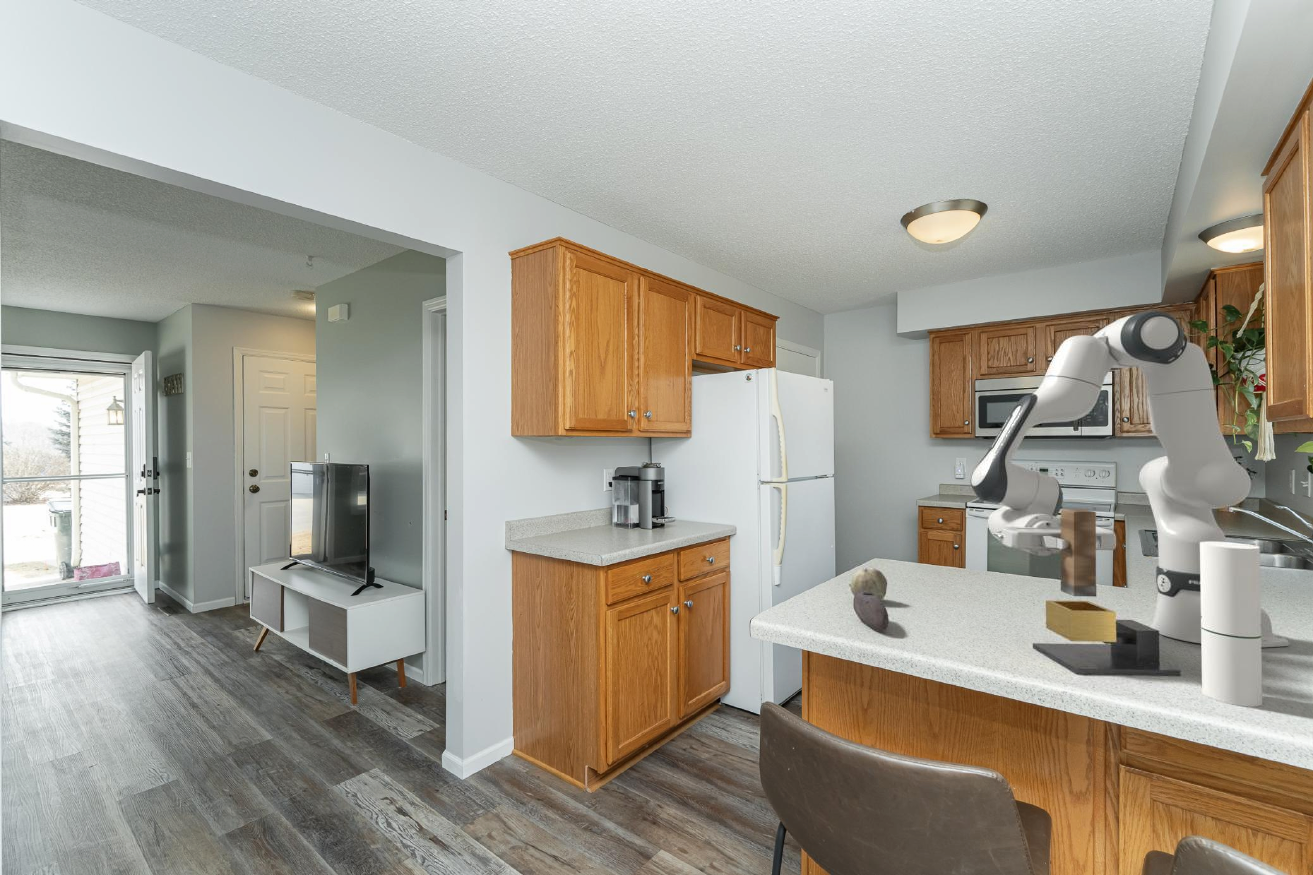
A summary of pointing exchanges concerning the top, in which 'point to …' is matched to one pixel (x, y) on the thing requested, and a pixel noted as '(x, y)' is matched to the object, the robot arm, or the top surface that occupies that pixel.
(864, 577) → the garlic bulb
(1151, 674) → the cup bracket
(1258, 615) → the cylindrical container
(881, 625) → the perforated stone tool
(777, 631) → the top surface
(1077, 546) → the rail post
